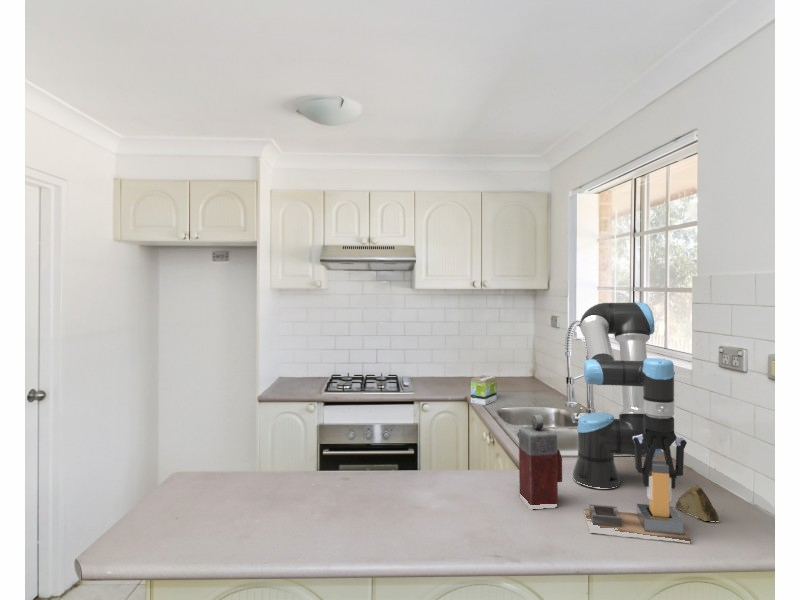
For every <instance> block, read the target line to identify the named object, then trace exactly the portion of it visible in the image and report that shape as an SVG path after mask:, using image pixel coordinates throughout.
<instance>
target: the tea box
mask: <svg viewBox="0 0 800 600" xmlns="http://www.w3.org/2000/svg"><path fill="white" fill-rule="evenodd" d="M497 380H498V379H497V376H493V375H492V376H491V375H484V374H482V375H478V376H475V377H473V378H471V379H470V403H471V404H475V405H480V406H486V405H488V404H490V403H494V402H496V401H497V400H498V399H497V398H498V397H497V396H498V395H497V393H498V392H497V391H498V389H497V385H498V384H497V383H498V381H497Z"/></svg>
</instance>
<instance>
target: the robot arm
mask: <svg viewBox="0 0 800 600" xmlns="http://www.w3.org/2000/svg"><path fill="white" fill-rule="evenodd" d="M579 327H580V328H579V329H580V332H581V334H582V335H583V336H584V338H585V340H584V341H585V345H586V346H585V347H586V350H587V356H588V359H586V360H585V361H584V364H583V376H584V381H585V383H587V384H588V385H595V386H596V385H597V386H621V389H622V391H621V392H622V403H623V405H622V407H623V408H622V409H623V410H621V411H620V412H619V413H618V418H615V417H614V415H613V414H612V413H609V412H607V413H606V412H590V413H585V414H583V415H581V416H580V417H579V418H578V421H577V428H576V429H577V459H576V462H575V465H574V468H573V472H572V479H573V478H574V479H575V480H576V481H578V482H580V483H582V484H585V485H588V486H592V487H600V488H612V487H616V486H618V485H619V484H620V483H621V482H620V475H619V472H618V470H617V466H616V463H615V454H617V455H618V454H619V455H630V456H634V460H635V461H634V462H635V465H634V466H635V470H636V471H637V472H638V474H642V483H643V485H644V487H646V497H647V498H648V500H652V476H651V474H650V469H651V465H652V461H654V460H653V459H654V457H656V456H658V455H660V453H661V452H662V451H663V456H664V461H665V462H666V463H667V465H668V466H669V503H671V502H672V490H673V489H676V479H677V478H678V477H682V476H684V463H685V461H684V459H685V458H684V457H685V456H684V455H685V447H686V446H687V441H686V440H685V439H684V438H683V437H678V436H677V435H676V433H675V418H674V417H673V416H674V415H675V375H676V373H675V369H674V368H675V367H674V362H673V361H672V360H670V359H666V358H658V357H657V358H655V357H654V358H652V357H651V358H648V357H647V356H648V355H647V344H646V343H647V342H648V341H649V340H650V339H651V335H653V334H654V333H655V317H654V315H653V311H652V308H651V307H650V305H649V304H647V303H646V302H635V301H633V302H602V303H597V304H594V305H593V306H591V307H589V308H588V309H587V310H586V311H585V312H584V314H582V316H581V319H580V323H579ZM610 334H611V335H614V336H613V337H614V341H616V342H617V343H618V344H619V356H620V359H619V360H616V358H615V355H614V351H613V348H612V344H611V340H610V338H609V337H610V336H609V335H610ZM674 442H675V445H676V446H675V447H676V449H675V466H674V463H673V458H672V454H671V448H670V447H671V446H672V444H674ZM643 457H644V462H643V459H642V458H643ZM619 486H620V485H619ZM619 486H618V487H619Z"/></svg>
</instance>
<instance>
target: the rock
mask: <svg viewBox="0 0 800 600" xmlns="http://www.w3.org/2000/svg"><path fill="white" fill-rule="evenodd" d="M676 501H677V502H675V509H676V508H677V509H676V510H678V509H680V510H682V511H684V512H686V513H689V514H691V515H693V516H696V517H698V518H700V519H702V520H704V521H715V522H716V521H720V522H721V520H720V517H719V515H718V512H717V510H716V508H714V506H713V504H712V502H711V500H710V499H709V496H708V495H707V494H706V492H705V491H704V490H703V488H702V487H700V486H698V485H692V486H690V488H689V489H688V490H687V491H685V492H684V493H683V494H682V495H681V496H679V498H678V500H676ZM680 510H679V511H680ZM682 511H681V512H682ZM684 512H683V513H684ZM686 513H685V514H686ZM689 514H688V515H689ZM691 515H690V516H691ZM700 519H699V520H700ZM702 520H701V521H702ZM704 521H703V522H704Z"/></svg>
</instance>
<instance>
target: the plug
mask: <svg viewBox="0 0 800 600" xmlns="http://www.w3.org/2000/svg"><path fill="white" fill-rule="evenodd" d="M650 474H651V476H652V500H649V499H648V500H649V504H648V505H649V510H650V511H651V513H652V515H653V516H660V517H669V507H670V502H669V466H668V465H667V463H666V460H663V461H662V460H652V465H651V469H650Z"/></svg>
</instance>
